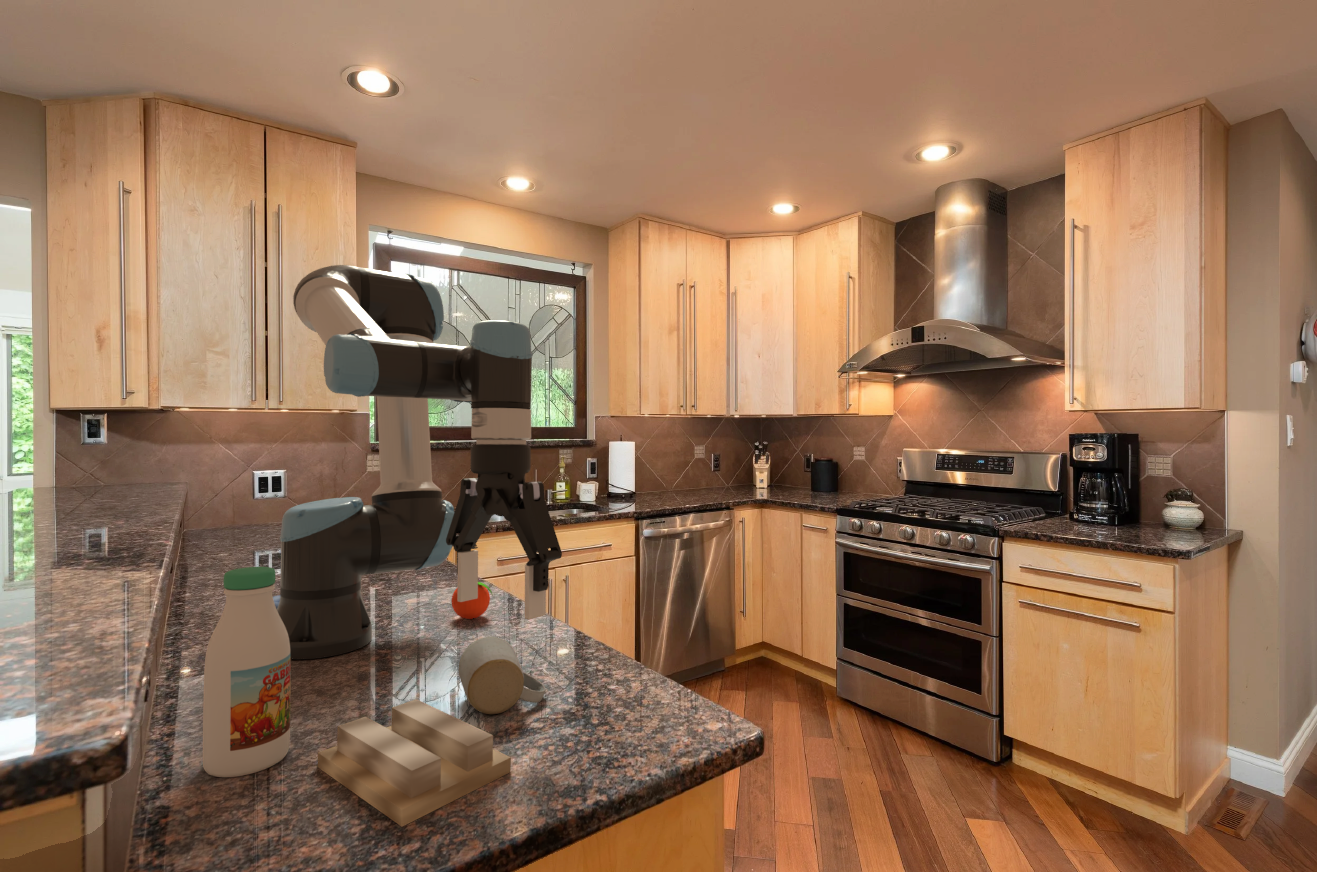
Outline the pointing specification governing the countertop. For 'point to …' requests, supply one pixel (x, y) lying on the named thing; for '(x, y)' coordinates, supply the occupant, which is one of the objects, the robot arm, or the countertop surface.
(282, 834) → the countertop surface
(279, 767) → the countertop surface
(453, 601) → the clementine
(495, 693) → the speckled stoneware cup
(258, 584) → the milk bottle
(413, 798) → the wooden block with ridges
